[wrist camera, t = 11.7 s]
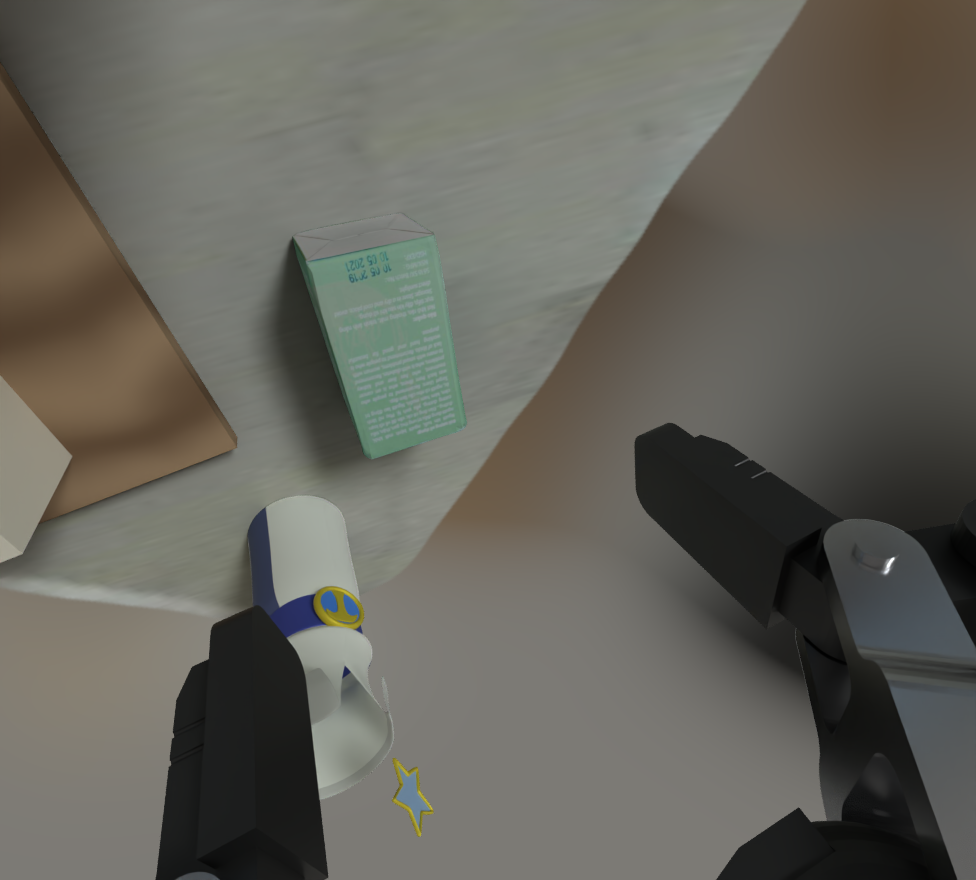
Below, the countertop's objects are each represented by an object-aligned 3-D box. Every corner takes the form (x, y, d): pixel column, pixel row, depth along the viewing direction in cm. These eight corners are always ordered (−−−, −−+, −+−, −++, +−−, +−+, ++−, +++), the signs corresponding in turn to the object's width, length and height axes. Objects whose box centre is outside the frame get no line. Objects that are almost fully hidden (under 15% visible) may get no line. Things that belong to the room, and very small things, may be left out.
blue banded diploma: (271, 475, 39) (299, 839, 19) (366, 508, 44) (466, 822, 24) (220, 554, 40) (199, 961, 21) (318, 577, 45) (374, 922, 26)
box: (349, 417, 39) (368, 469, 33) (288, 234, 31) (300, 258, 25) (438, 389, 41) (472, 434, 35) (402, 210, 33) (437, 228, 27)
